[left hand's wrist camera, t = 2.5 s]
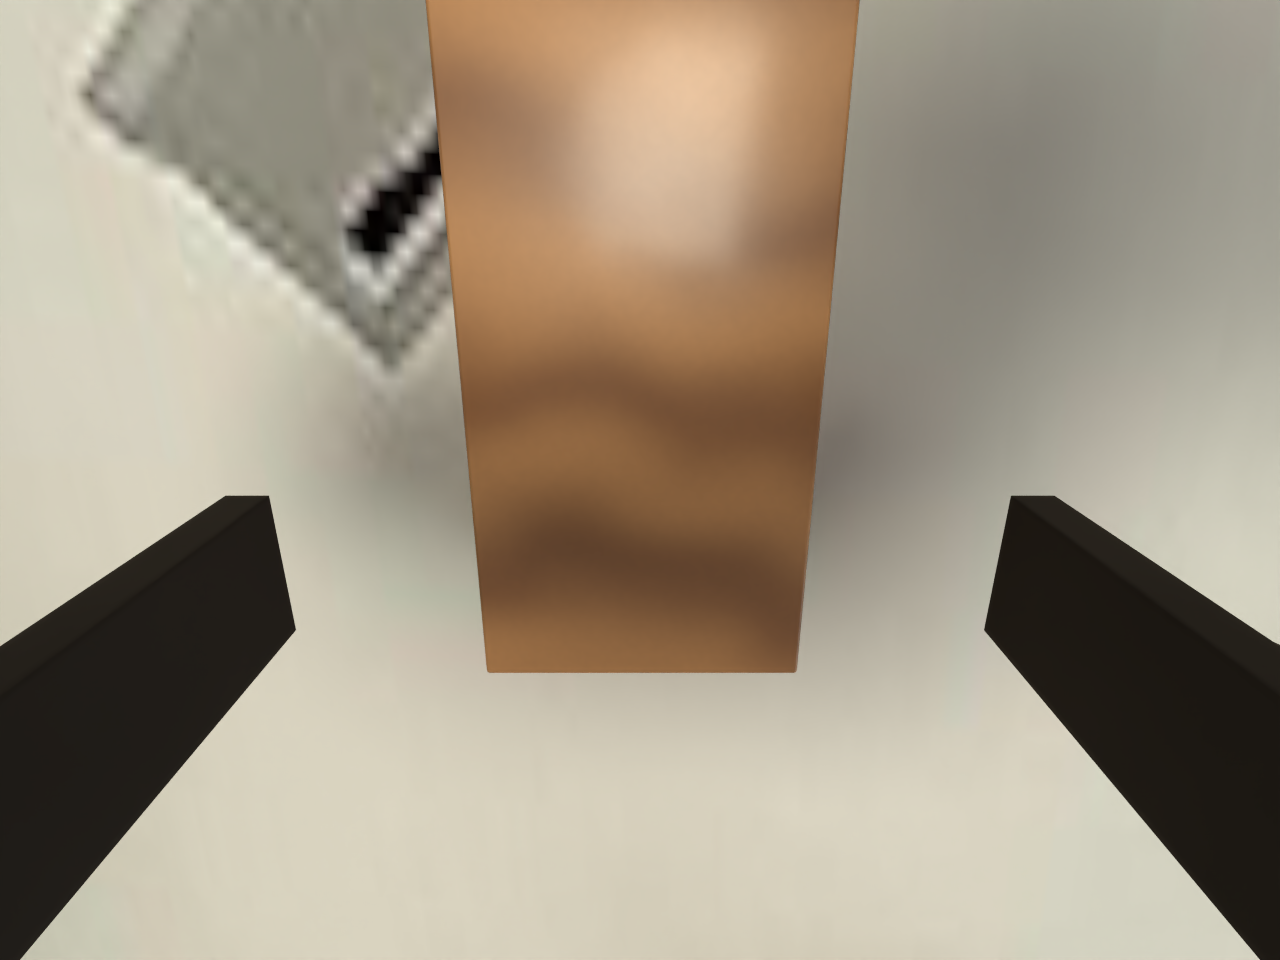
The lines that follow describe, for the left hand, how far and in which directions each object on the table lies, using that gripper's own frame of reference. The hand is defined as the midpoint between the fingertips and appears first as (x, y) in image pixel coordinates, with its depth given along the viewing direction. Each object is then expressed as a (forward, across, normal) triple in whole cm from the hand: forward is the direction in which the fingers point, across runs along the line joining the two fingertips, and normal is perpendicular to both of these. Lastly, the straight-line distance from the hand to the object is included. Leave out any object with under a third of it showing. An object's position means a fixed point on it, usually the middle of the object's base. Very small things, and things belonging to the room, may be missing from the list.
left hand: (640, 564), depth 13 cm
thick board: (+13, 0, -34) cm, 36 cm away
